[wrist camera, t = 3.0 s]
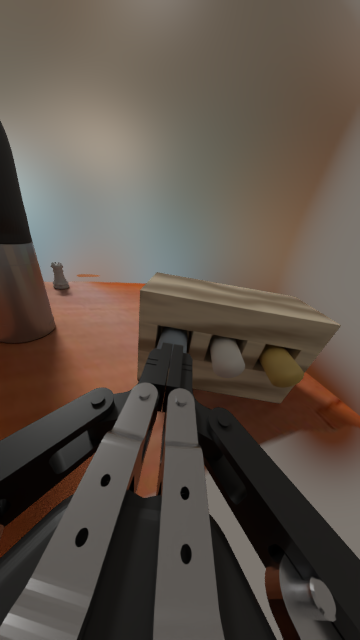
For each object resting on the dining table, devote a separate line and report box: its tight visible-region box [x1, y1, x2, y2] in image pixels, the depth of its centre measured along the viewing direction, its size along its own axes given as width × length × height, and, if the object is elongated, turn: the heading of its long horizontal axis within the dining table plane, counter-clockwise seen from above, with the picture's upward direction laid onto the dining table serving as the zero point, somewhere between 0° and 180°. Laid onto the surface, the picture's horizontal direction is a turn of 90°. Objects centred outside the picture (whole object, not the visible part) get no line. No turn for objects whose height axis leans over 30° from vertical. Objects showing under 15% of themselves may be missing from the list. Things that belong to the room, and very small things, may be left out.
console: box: [137, 272, 341, 403], centre depth 27 cm, size 10×25×16 cm, turn 86°
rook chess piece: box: [51, 262, 69, 289], centre depth 52 cm, size 4×4×8 cm
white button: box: [209, 335, 245, 378], centre depth 22 cm, size 5×4×4 cm
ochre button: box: [258, 344, 304, 388], centre depth 22 cm, size 5×4×4 cm
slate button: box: [157, 326, 188, 368], centre depth 22 cm, size 5×4×4 cm
